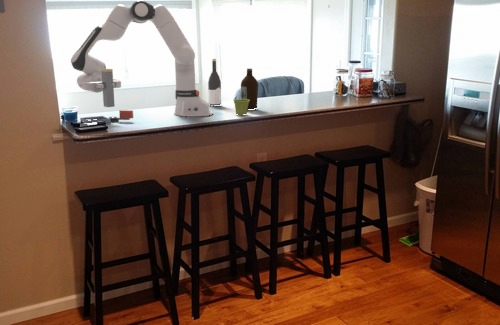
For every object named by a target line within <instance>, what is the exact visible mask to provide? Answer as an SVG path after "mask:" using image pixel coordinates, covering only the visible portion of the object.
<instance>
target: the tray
mask: <svg viewBox="0 0 500 325" xmlns="http://www.w3.org/2000/svg"><path fill="white" fill-rule="evenodd" d="M86 119H97V120H91V121H88V120H86ZM80 120H81V121H84V122H86V123H92V122H98V121H105V122H106V124H105V125H108V124H110V125H111V124H112V123H111V119H110V118H109V117H106V116H104V115H99V116H88V117H80ZM81 121H80V122H81Z"/></svg>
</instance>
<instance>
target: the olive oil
mask: <svg viewBox="0 0 500 325" xmlns="http://www.w3.org/2000/svg"><path fill="white" fill-rule="evenodd" d="M258 91H259V83H258V79H256V77H254V75H253V68H246V75H245V77H244V78H243V79H241V83H240V97H241V98H240V99H247V100H250V101H249V104H248V109H254V108H257V109H258V98H259V97H258V96H259V95H258V94H259V92H258Z"/></svg>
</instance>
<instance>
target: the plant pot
mask: <svg viewBox="0 0 500 325" xmlns="http://www.w3.org/2000/svg"><path fill="white" fill-rule="evenodd" d="M249 101H250V100H247V99H241V98H236V99H235V98H234V99H233V103H234V108H235V115H236V114H238V115H241V116H243V115H242V114H247V115H248V111H247V109H248V104H249ZM238 115H237V116H238Z"/></svg>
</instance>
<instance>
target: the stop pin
mask: <svg viewBox="0 0 500 325" xmlns="http://www.w3.org/2000/svg"><path fill="white" fill-rule="evenodd" d="M101 71H102V84H104V85H105V88H103V91H102V101H103V107H104V108H114V107H115V105H116V104H115V92H114V90H115V88H113V79H114V73H113V68H106V69H101Z"/></svg>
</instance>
